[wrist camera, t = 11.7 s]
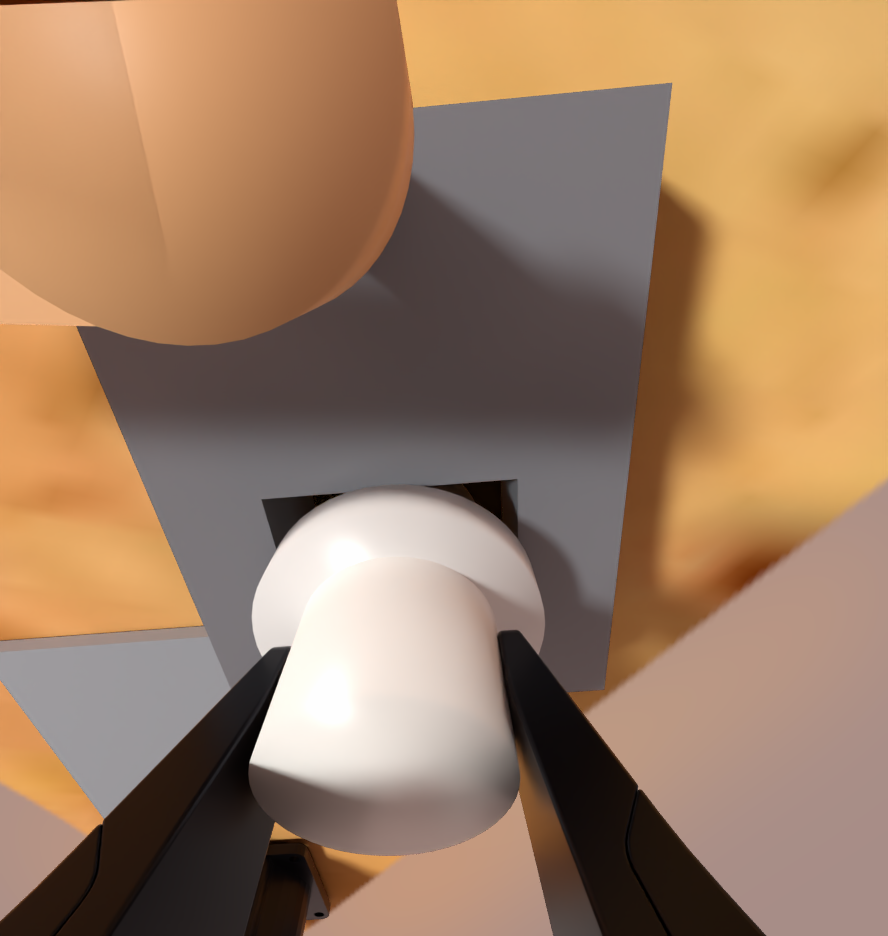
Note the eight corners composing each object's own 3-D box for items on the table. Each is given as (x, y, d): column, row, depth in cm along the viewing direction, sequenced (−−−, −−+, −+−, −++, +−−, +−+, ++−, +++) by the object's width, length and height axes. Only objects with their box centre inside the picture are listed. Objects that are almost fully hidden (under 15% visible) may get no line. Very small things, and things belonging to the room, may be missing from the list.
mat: (319, 794, 19) (316, 808, 19) (113, 808, 19) (106, 821, 19) (258, 621, 15) (252, 633, 14) (-7, 641, 15) (-20, 653, 15)
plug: (514, 597, 14) (578, 873, 8) (327, 611, 14) (242, 895, 8) (512, 419, 12) (604, 620, 5) (282, 438, 12) (104, 657, 5)
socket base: (573, 610, 15) (675, 873, 9) (276, 631, 15) (162, 904, 9) (602, 132, 9) (966, -126, 3) (125, 176, 9) (-502, 29, 3)
